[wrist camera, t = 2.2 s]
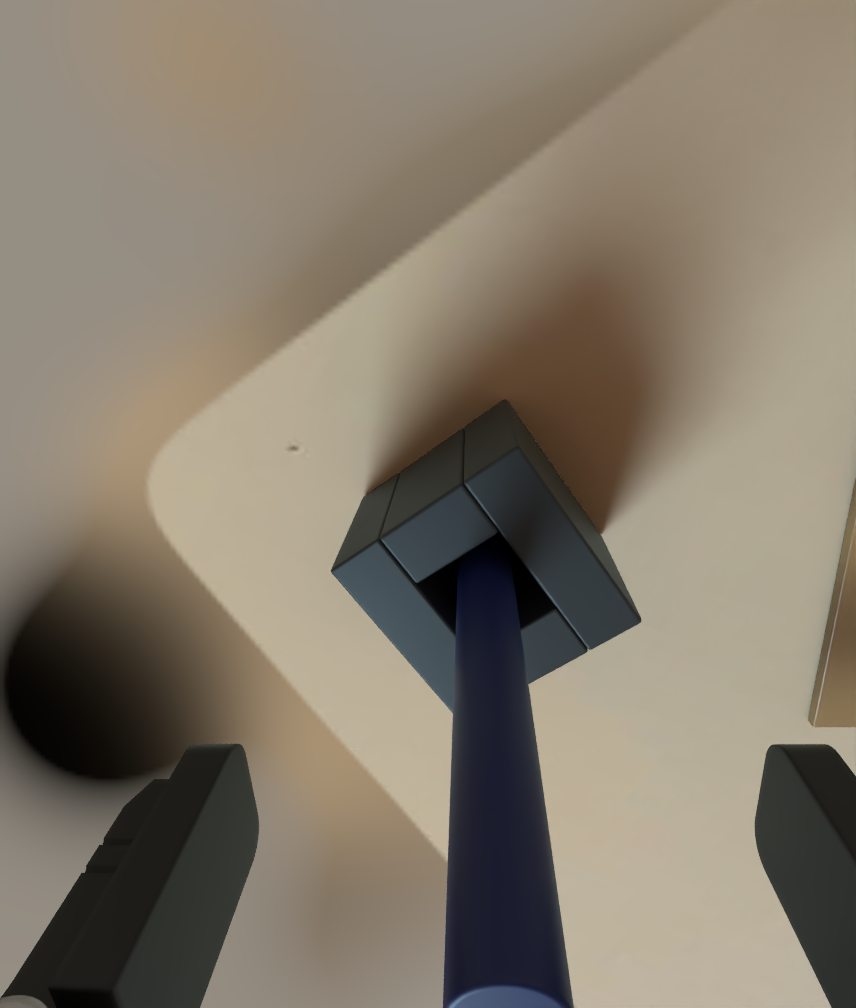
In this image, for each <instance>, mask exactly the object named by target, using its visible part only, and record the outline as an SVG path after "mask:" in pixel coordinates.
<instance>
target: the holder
mask: <svg viewBox="0 0 856 1008" xmlns="http://www.w3.org/2000/svg"><path fill="white" fill-rule="evenodd" d="M498 530H499V532H500V533H501V534H502V536H503V537H504V538H505V540H506V541H507V542H508V544H509V551H510V558H511V565H512V572H513V579H514V586H515V593H516V601H517V608H518V615H519V622H520V629H521V636H522V643H523V650H524V657H525V665H526V672H527V679H528V684H530V683H531V682H533V681H535V680H537V679H539V678H541V677H542V676H544V675H546V674H548V673H550V672H552V671H553V670H555V669H557V668H559V667H561V666H563V665H564V664H566V663H568V662H570V661H572V660H574V659H575V658H577V657H579V656H581V655H583V654H585V653H586V652H587V651H588V650H587V648H588V649H589V650H590V649H593V648H595V647H597V646H599V645H600V644H602V643H604V642H606V641H608V640H610V639H612V638H613V637H615V636H617V635H619V634H621V633H623V632H624V631H626V630H628V629H630V628H632V627H634V626H635V625H637V624H639V623H640V622H641V617H640V615H639V613H638V611H637V609H636V607H635V605H634V603H633V600H632V598H631V596H630V594H629V592H628V590H627V588H626V586H625V584H624V582H623V580H622V578H621V576H620V573H619V571H618V569H617V567H616V565H615V563H614V561H613V559H612V557H611V555H610V553H609V551H608V549H607V546H606V544H605V542H604V540H603V538H602V536H601V534H600V533H599V532H598V530H597V529H596V527H595V526H594V524H593V523H592V522H591V520H590V519H589V517H588V516H587V514H586V513H585V511H584V510H583V509H582V507H581V506H580V504H579V503H578V501H577V500H576V499H575V497H574V496H573V494H572V493H571V491H570V490H569V488H568V487H567V486H566V484H565V483H564V481H563V480H562V478H561V477H560V475H559V474H558V473H557V471H556V470H555V468H554V467H553V465H552V464H551V463H550V461H549V460H548V458H547V457H546V455H545V454H544V452H543V451H542V450H541V448H540V447H539V445H538V444H537V442H536V441H535V440H534V438H533V437H532V435H531V434H530V432H529V431H528V429H527V428H526V427H525V425H524V424H523V422H522V421H521V419H520V418H519V417H518V415H517V414H516V412H515V411H514V409H513V408H512V406H511V405H510V404H509V402H508V401H507V400H503V401H502V402H500V403H499V404H497V405H496V406H494V407H493V408H491V409H490V410H489V411H487V412H486V413H484V414H483V415H481V416H480V417H478V418H477V419H476V420H474V421H473V422H471V423H470V424H468V425H467V426H466V427H465V430H464V429H462V430H460V431H458V432H457V433H455V434H454V435H453V436H451V437H450V438H448V439H447V440H445V441H444V442H442V443H441V444H440V445H438V446H437V447H435V448H434V449H432V450H431V451H429V452H428V453H427V454H425V455H424V456H422V457H421V458H419V459H418V460H417V461H415V462H414V463H412V464H411V465H409V466H408V467H406V468H405V469H404V470H402V471H401V473H398V474H396V475H395V476H393V477H392V478H390V479H389V480H388V481H386V482H385V483H383V484H382V485H380V486H379V487H377V488H376V489H375V490H373V491H372V492H370V493H369V494H367V495H366V496H364V497H363V499H362V501H361V504H360V506H359V508H358V510H357V513H356V515H355V517H354V519H353V522H352V524H351V526H350V528H349V531H348V533H347V535H346V537H345V540H344V542H343V544H342V546H341V549H340V551H339V553H338V555H337V558H336V560H335V562H334V564H333V567H332V569H331V572H332V574H333V575H334V576H335V577H336V578H337V579H338V581H339V582H340V583H341V584H342V585H343V586H344V588H345V589H346V590H347V591H348V592H349V593H350V595H351V596H352V597H353V598H354V599H355V600H356V601H357V603H358V604H359V605H360V606H361V607H362V608H363V610H364V611H365V612H366V613H367V614H368V615H369V617H370V618H371V619H372V620H373V621H374V622H375V623H376V625H377V626H378V627H379V628H380V629H381V630H382V632H383V633H384V634H385V635H386V636H387V637H388V639H389V640H390V641H391V642H392V643H393V644H394V645H395V647H396V648H397V649H398V650H399V651H400V652H401V654H402V655H403V656H404V657H405V658H406V659H407V661H408V662H409V663H410V664H411V665H412V666H413V668H414V669H415V670H416V671H417V672H418V673H419V674H420V676H421V677H422V678H423V679H424V680H425V681H426V683H427V684H428V685H429V686H430V687H431V688H432V690H433V691H434V692H435V693H436V694H437V695H438V696H439V698H440V699H441V700H442V701H443V702H444V703H445V705H446V706H447V707H448V708H449V709H450V710H451V712H452V713H453V701H454V672H455V642H456V613H457V584H458V558H459V557H460V556H462V555H463V554H465V553H467V552H468V551H470V550H471V549H473V548H474V547H476V546H478V545H479V544H481V543H482V542H484V541H486V540H487V539H489V538H490V537H492V536H494V535H495V534H496V533H497V532H498Z"/></svg>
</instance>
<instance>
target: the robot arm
mask: <svg viewBox="0 0 856 1008" xmlns="http://www.w3.org/2000/svg"><path fill="white" fill-rule="evenodd" d="M258 833H259V819H258V812H257V807H256V803H255V798H254V793H253V788H252V783H251V778H250V773H249V769H248V763H247V758H246V754H245V751H244V748H243V747H242V745H240V744H193V745H191V746H189V748H188V749H187V750H186V751H185V753H184V755H183V756H182V758H181V760H180V761H179V763H178V765H177V767H176V768H175V770H174V772H173V773H172V775H171V777H170V779H167V780H166V779H154V780H153V781H152V782H151V783H150V784H149V785H147V786H146V787H145V788H144V789H143V790H142V791H141V792H140V793H139V794H137V795H136V796H135V797H134V798H133V799H132V800H131V801H130V802H129V803H127V804H126V805H125V806H124V808H123V809H122V811H121V812H120V814H119V815H118V817H117V818H116V820H115V822H114V823H113V825H112V826H111V828H110V830H109V831H108V833H107V834H106V836H105V837H104V842H103V845H99V847H98V848H97V850H96V851H95V853H94V855H93V856H92V858H91V859H90V861H89V862H88V864H87V865H86V872H85V873H81V875H80V876H79V878H78V880H77V881H76V883H75V885H74V886H73V887H72V889H71V891H70V892H69V894H68V895H67V897H66V899H65V900H64V902H63V903H62V905H61V907H60V908H59V909H58V911H57V912H56V914H55V916H54V917H53V919H52V920H51V922H50V924H49V925H48V927H47V928H46V930H45V931H44V933H43V935H42V936H41V938H40V940H39V941H38V942H37V944H36V946H35V947H34V949H33V950H32V952H31V953H30V955H29V956H28V958H27V960H26V961H25V963H24V964H23V966H22V967H21V969H20V971H19V972H18V974H17V975H16V977H15V979H14V980H13V981H12V983H11V984H10V986H9V987H8V989H7V990H6V991H5V993H4V994H3V995H2V997H1V998H0V1008H200V1006H201V1003H202V1000H203V998H204V995H205V992H206V989H207V987H208V984H209V981H210V978H211V976H212V973H213V970H214V967H215V965H216V962H217V959H218V956H219V954H220V951H221V948H222V945H223V943H224V940H225V937H226V934H227V932H228V929H229V926H230V923H231V921H232V918H233V915H234V912H235V910H236V907H237V904H238V901H239V899H240V896H241V893H242V890H243V887H244V885H245V882H246V879H247V877H248V874H249V871H250V868H251V866H252V863H253V860H254V857H255V852H256V848H257V842H258ZM755 837H756V843H757V848H758V852H759V856H760V859H761V862H762V865H763V867H764V869H765V872H766V874H767V876H768V878H769V880H770V882H771V884H772V886H773V888H774V890H775V892H776V894H777V896H778V898H779V900H780V902H781V904H782V907H783V909H784V911H785V913H786V915H787V917H788V919H789V921H790V923H791V925H792V927H793V929H794V931H795V933H796V935H797V937H798V939H799V941H800V944H801V946H802V948H803V950H804V952H805V954H806V956H807V958H808V960H809V962H810V964H811V966H812V968H813V970H814V972H815V974H816V976H817V978H818V980H819V983H820V985H821V987H822V989H823V991H824V993H825V995H826V997H827V999H828V1001H829V1003H830V1005H831V1007H832V1008H856V776H855V775H854V774H853V772H852V771H851V770H850V768H849V767H848V766H847V764H846V763H845V762H844V760H843V759H842V758H841V756H840V755H839V754H838V753H837V751H836V750H835V749H833V748H832V747H831V746H829V745H826V744H777V745H771V746H770V747H769V748H768V751H767V753H766V758H765V764H764V770H763V776H762V782H761V788H760V794H759V800H758V805H757V811H756V817H755Z"/></svg>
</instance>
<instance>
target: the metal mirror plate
mask: <svg viewBox="0 0 856 1008" xmlns="http://www.w3.org/2000/svg"><path fill="white" fill-rule="evenodd" d="M808 721H809V722H810V723H811V725H812V726H813V727H856V480H855V485H854V490H853V495H852V500H851V505H850V510H849V515H848V520H847V525H846V530H845V536H844V541H843V546H842V551H841V556H840V561H839V566H838V571H837V576H836V581H835V586H834V591H833V596H832V601H831V606H830V611H829V616H828V621H827V626H826V631H825V636H824V641H823V646H822V651H821V656H820V662H819V667H818V672H817V677H816V682H815V687H814V692H813V697H812V702H811V707H810V712H809V717H808Z"/></svg>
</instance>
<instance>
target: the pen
mask: <svg viewBox="0 0 856 1008" xmlns="http://www.w3.org/2000/svg"><path fill="white" fill-rule="evenodd" d="M443 1008H574V1006H573V999H572V992H571V985H570V978H569V970H568V963H567V956H566V949H565V942H564V935H563V928H562V921H561V914H560V906H559V899H558V892H557V885H556V878H555V871H554V864H553V857H552V850H551V842H550V835H549V828H548V821H547V814H546V807H545V800H544V793H543V786H542V778H541V771H540V764H539V757H538V750H537V743H536V736H535V729H534V721H533V714H532V707H531V700H530V693H529V686H528V679H527V672H526V665H525V657H524V650H523V643H522V636H521V629H520V622H519V615H518V608H517V601H516V593H515V586H514V579H513V572H512V565H511V558H510V551H509V544H508V542H507V541H506V540H505V538H504V537H503V536H502V534H501V533H500V532H499V530H498V532H497V533H496V534H495V535H494V536H492V537H490V538H489V539H487V540H486V541H484V542H482V543H481V544H479V545H478V546H476V547H474V548H473V549H471V550H470V551H468V552H467V553H465V554H463V555H462V556H460V557H459V558H458V584H457V613H456V642H455V672H454V701H453V730H452V759H451V788H450V817H449V847H448V876H447V906H446V934H445V964H444V993H443Z"/></svg>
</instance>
